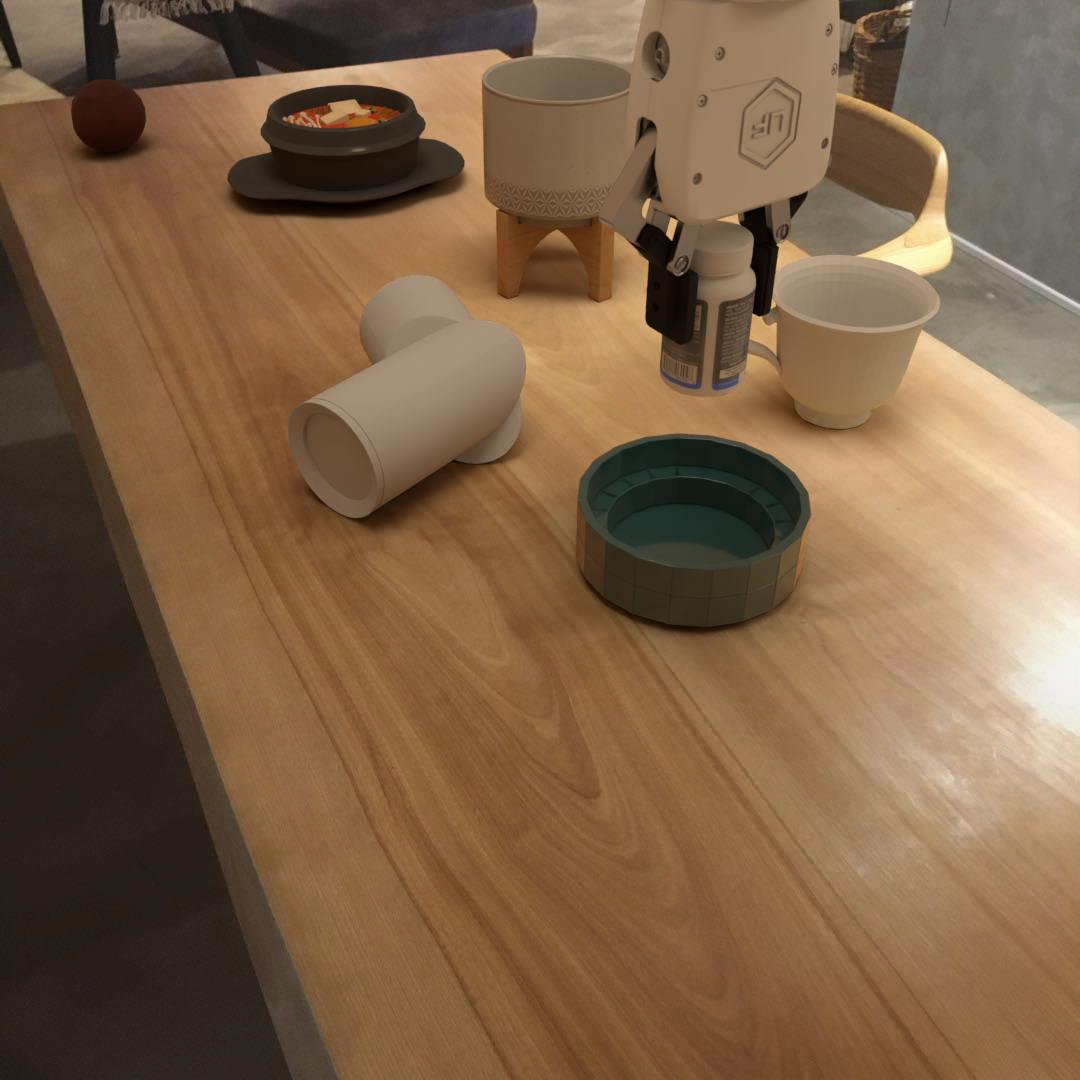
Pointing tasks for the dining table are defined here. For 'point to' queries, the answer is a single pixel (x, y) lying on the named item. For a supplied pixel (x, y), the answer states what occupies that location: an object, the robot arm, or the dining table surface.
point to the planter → (553, 158)
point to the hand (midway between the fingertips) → (707, 316)
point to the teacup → (845, 334)
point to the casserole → (343, 148)
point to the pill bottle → (715, 316)
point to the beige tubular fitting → (411, 399)
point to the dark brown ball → (108, 115)
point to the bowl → (691, 529)
